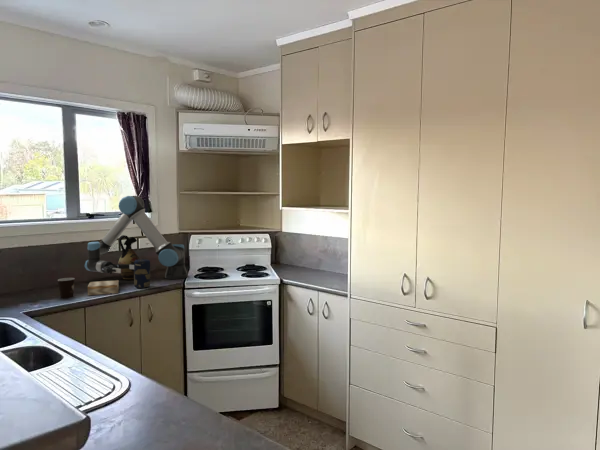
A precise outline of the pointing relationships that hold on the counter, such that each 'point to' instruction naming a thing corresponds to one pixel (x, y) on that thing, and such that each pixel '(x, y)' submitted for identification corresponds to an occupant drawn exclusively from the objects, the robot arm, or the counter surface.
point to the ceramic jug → (127, 256)
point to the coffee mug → (66, 287)
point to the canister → (142, 273)
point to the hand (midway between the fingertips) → (129, 269)
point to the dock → (103, 287)
